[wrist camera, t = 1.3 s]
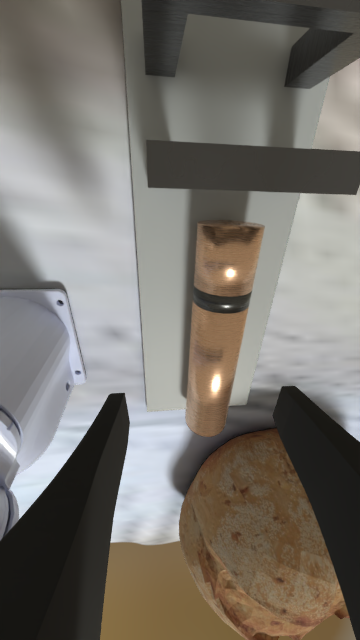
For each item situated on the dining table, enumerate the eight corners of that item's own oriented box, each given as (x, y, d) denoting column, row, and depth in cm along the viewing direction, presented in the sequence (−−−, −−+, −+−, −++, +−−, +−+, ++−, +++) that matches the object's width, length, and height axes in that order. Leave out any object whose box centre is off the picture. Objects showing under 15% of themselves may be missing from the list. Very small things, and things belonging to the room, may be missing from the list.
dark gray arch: (286, 192, 15) (355, 194, 10) (149, 188, 14) (147, 187, 9) (292, 165, 14) (371, 152, 9) (148, 158, 13) (145, 139, 8)
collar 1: (309, 89, 13) (419, 20, 7) (145, 75, 12) (140, -17, 6) (318, 49, 12) (447, -58, 7) (144, 30, 11) (137, -112, 6)
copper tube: (215, 398, 25) (232, 430, 22) (180, 406, 24) (192, 441, 21) (243, 219, 16) (279, 228, 13) (189, 219, 15) (213, 229, 12)
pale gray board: (244, 400, 26) (246, 404, 26) (147, 407, 25) (147, 411, 24) (340, 7, 12) (349, -1, 11) (120, -21, 10) (118, -32, 10)
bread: (268, 515, 44) (316, 651, 31) (153, 509, 38) (154, 678, 25) (367, 432, 33) (508, 591, 20) (228, 403, 26) (302, 611, 13)
